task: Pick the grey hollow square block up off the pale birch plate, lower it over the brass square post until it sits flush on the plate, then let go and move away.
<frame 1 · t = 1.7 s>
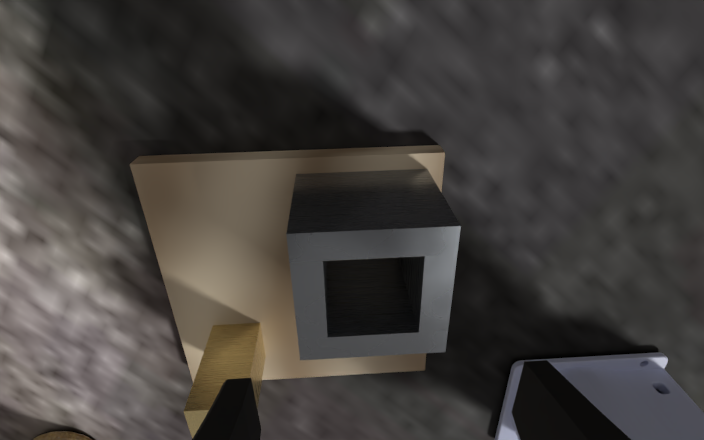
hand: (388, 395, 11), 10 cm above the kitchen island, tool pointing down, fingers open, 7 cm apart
grey hollow square block: (362, 228, 19), point 1 cm above the kitchen island, touching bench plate
brass post: (243, 327, 23), resting on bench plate
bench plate: (302, 272, 21), on the kitchen island
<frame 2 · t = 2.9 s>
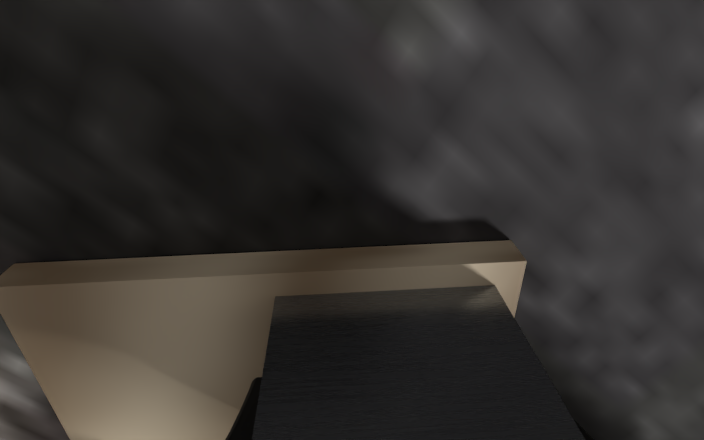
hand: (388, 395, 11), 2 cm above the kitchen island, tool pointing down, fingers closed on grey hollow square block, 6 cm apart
grey hollow square block: (384, 368, 12), point 1 cm above the kitchen island, touching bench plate, gripper
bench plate: (290, 412, 14), on the kitchen island
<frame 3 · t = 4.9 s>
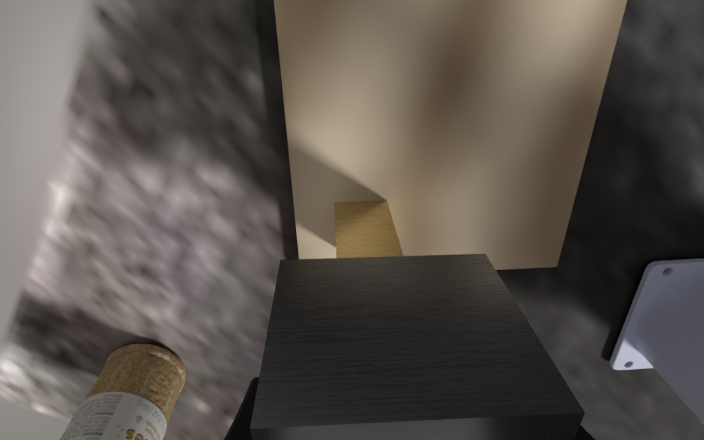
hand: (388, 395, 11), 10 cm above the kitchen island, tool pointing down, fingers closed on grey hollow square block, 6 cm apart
grey hollow square block: (380, 334, 13), point 8 cm above the kitchen island, touching gripper
brass post: (359, 214, 20), resting on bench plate
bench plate: (435, 142, 19), on the kitchen island
sprinkles bottle: (148, 364, 24), on the kitchen island
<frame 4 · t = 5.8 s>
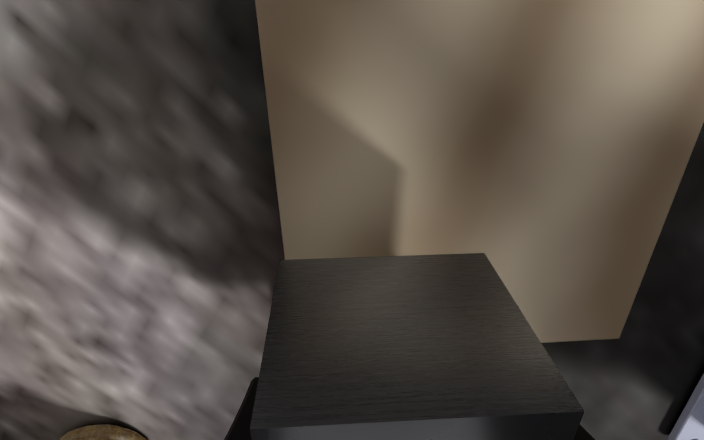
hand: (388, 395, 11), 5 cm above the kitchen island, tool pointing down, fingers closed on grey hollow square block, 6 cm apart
grey hollow square block: (380, 334, 13), point 3 cm above the kitchen island, touching gripper
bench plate: (471, 187, 14), on the kitchen island
when the fingers open (3 cm above the kitchen island, at t = 6.8 s): grey hollow square block stays where it is, resting on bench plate.
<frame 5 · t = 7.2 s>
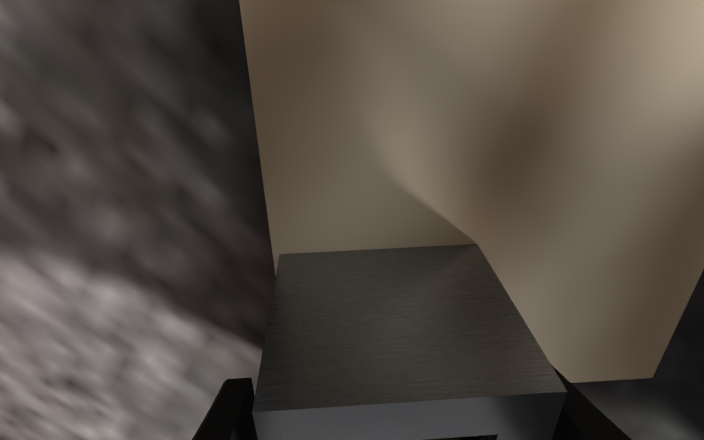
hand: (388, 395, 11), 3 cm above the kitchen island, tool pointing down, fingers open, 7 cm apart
grey hollow square block: (378, 324, 13), point 1 cm above the kitchen island, touching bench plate
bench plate: (491, 214, 13), on the kitchen island
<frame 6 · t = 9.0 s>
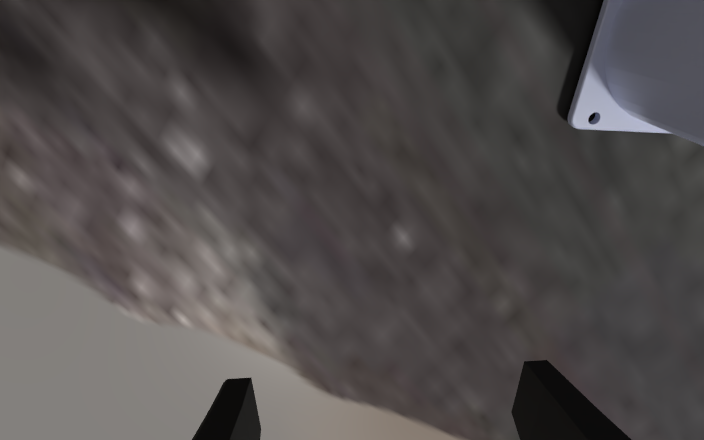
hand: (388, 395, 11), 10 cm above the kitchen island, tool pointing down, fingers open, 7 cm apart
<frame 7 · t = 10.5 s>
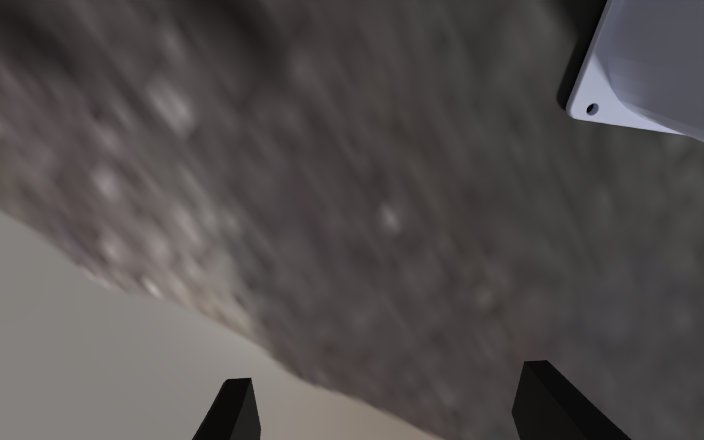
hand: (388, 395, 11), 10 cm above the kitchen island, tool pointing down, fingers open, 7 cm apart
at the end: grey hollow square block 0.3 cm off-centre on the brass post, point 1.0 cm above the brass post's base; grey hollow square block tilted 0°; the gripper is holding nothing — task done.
